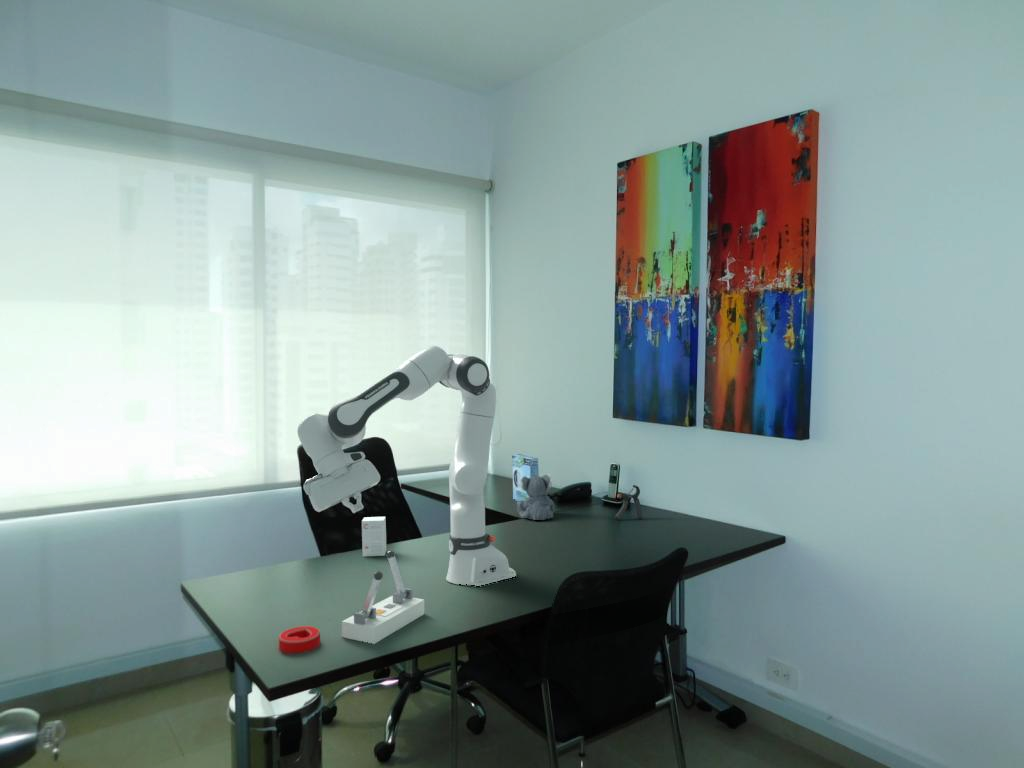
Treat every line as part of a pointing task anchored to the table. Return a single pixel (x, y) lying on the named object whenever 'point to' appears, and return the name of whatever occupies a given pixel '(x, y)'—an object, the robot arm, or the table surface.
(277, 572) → the table surface
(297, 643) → the decorative ornament
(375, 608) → the switch unit
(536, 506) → the koala plush
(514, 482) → the light blue product box
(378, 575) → the lever
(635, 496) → the hand grip strengthener
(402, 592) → the lever
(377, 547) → the small box
